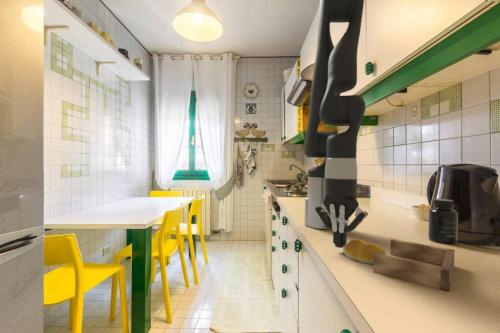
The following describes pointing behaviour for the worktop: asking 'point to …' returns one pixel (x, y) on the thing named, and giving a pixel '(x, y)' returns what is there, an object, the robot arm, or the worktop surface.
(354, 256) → the bread roll
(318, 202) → the robot arm
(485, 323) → the worktop surface
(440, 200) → the supplement bottle
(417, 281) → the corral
